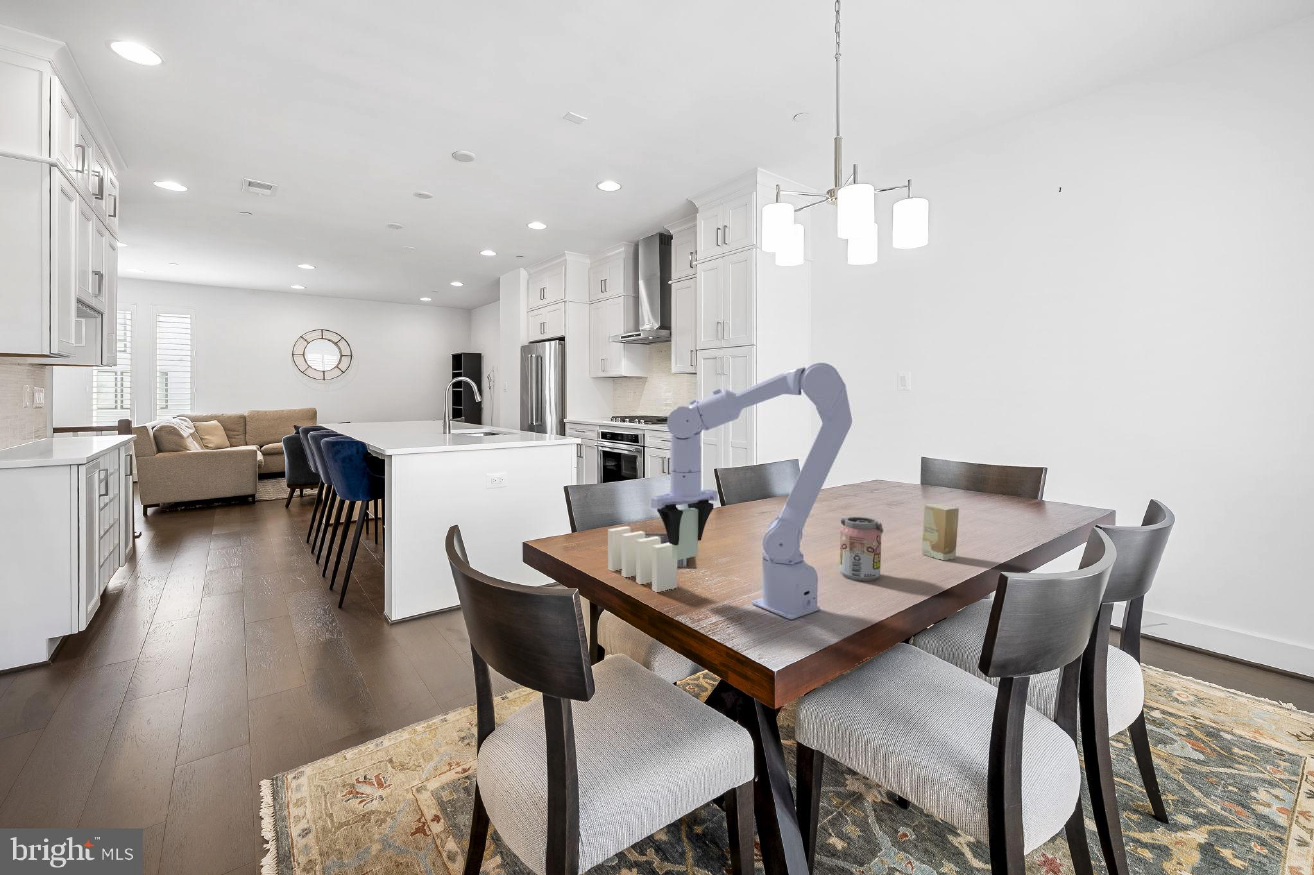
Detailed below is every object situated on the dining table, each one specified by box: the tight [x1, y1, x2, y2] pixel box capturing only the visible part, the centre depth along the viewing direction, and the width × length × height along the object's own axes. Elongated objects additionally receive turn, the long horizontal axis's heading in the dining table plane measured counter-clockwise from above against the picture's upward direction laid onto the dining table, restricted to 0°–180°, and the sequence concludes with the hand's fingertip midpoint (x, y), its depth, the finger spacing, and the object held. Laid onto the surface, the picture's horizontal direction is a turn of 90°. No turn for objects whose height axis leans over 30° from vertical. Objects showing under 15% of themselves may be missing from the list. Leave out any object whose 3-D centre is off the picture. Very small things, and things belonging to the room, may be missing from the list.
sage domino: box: [672, 508, 699, 560], centre depth 106 cm, size 2×5×9 cm, turn 126°
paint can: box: [839, 516, 884, 582], centre depth 119 cm, size 9×8×12 cm
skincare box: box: [921, 503, 960, 561], centre depth 132 cm, size 6×4×12 cm
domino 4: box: [651, 543, 678, 593], centre depth 110 cm, size 2×5×9 cm, turn 127°
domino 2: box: [621, 530, 646, 578], centre depth 119 cm, size 2×5×9 cm, turn 126°
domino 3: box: [635, 536, 661, 585], centre depth 114 cm, size 2×5×9 cm, turn 126°
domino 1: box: [607, 525, 632, 572], centre depth 123 cm, size 2×5×9 cm, turn 127°
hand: (685, 541), depth 106 cm, fingers closed on sage domino, 5 cm apart
